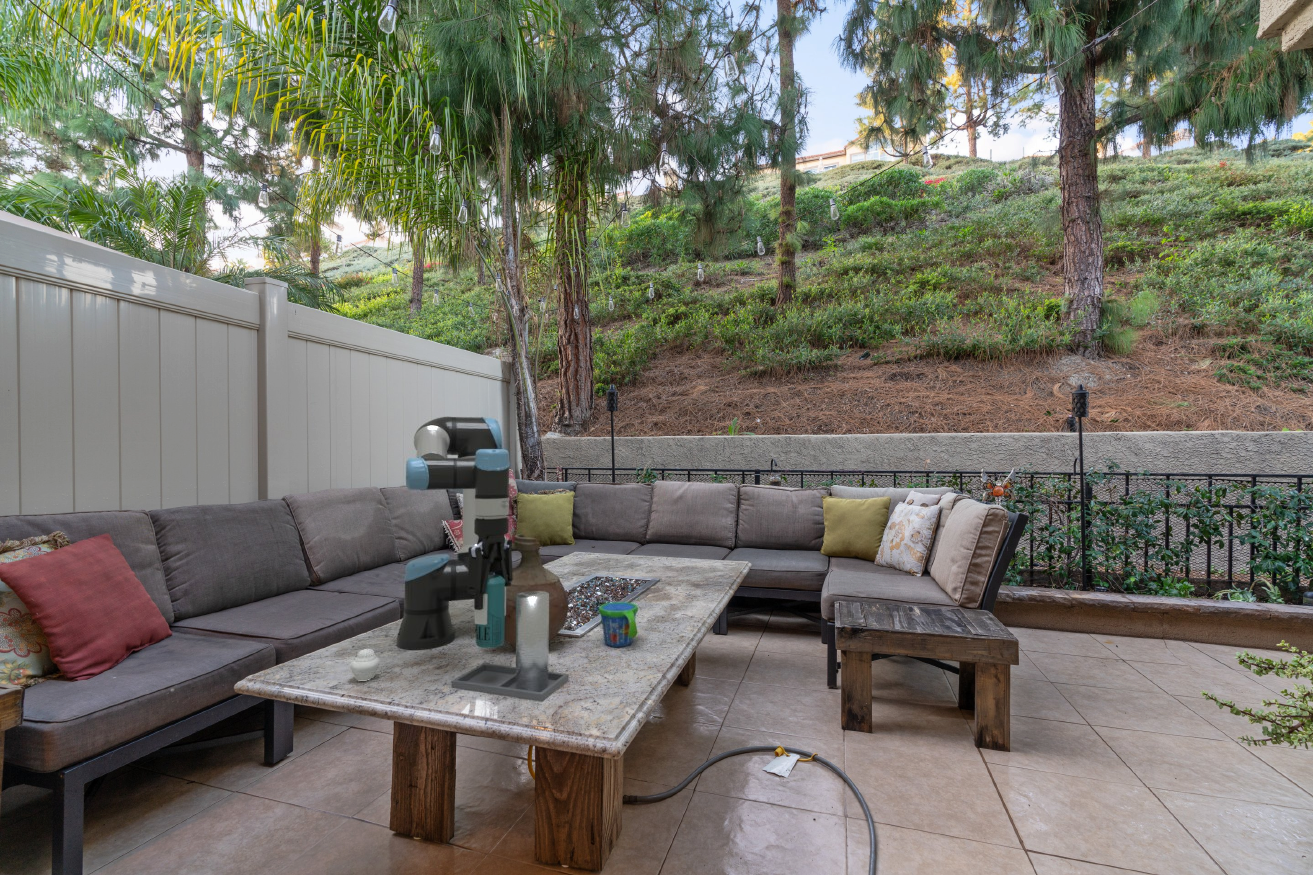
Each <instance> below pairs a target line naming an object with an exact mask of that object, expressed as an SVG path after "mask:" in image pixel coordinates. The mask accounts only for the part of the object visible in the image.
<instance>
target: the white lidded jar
mask: <svg viewBox="0 0 1313 875" xmlns="http://www.w3.org/2000/svg"><path fill="white" fill-rule="evenodd" d="M380 664H381V659H380V658H379V657H378V656H377V655H376V654H375V651H374V650H373V649H372V648H365V649H361V650H359V651H358V652H357V654H356V657H355V659H353V660H352V662H351V663H350V665H349V667H350V669H351V673H352V674H353V676H354V678H355V679H356V681H357V680H368V679H371V678H373V679H374V677H375V675H376V673H377V671H378V670H379V667H380Z"/></svg>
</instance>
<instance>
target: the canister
mask: <svg viewBox="0 0 1313 875" xmlns="http://www.w3.org/2000/svg"><path fill="white" fill-rule="evenodd" d="M549 641H550V640H549V593H548V592H544V591H528V592H522V593H519V594H517V595H516V648H515V667H516V689H520V690H527V691H534V692H542V691H543V690H545V689H546V688H547V687H548V675H549V672H550V670H549V664H550V663H549V661H550V659H549V654H550V650H549V648H550V642H549Z"/></svg>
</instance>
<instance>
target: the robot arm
mask: <svg viewBox="0 0 1313 875" xmlns="http://www.w3.org/2000/svg"><path fill="white" fill-rule="evenodd" d="M413 446H414V450H415V451H416V455H415V457H411V458H408V459H407V460H406V464H405V465H406V466H405V486H406V488H407V490H411V491H412V490H413V491H415V490H416V491H433V490H434V491H435V490H438V491H439V490H440V491H441V490H462V547H461V548H460V549H459V550H458V551H457V552H456V553H457V554H456V555H457V558H455V559H454V558H453V559H451V557H450V555H449V554H448V553H444V554H432V555H426V556H423V557H419V558H416V559H413V560H411V561H409V562H408V563H407V564H406V565H405V569H404V578H403V581H404V601H403V605H404V606H403V607H404V608H403V617H402V619H401V620H402V621H401V624H400V626H399V630H398V632H397V635H396V646H397V647H398V648H400V649H405V650H425V649H426V650H427V649H432V648H434V649H435V648H437V647H441V646H444V645H447V644H449V643H452V642H453V641H454V640H455V638H456V630H455V627H454V625H453V621H452V617H451V614H450V610H449V604H450V602H456V601H457V602H458V601H468V600H473V610H474V624H475V625H476V624H482V625H486V624H487V594H485V590H486V585H487V580H488V575H500V576H501V577H503V578H504V579H505V615H506V587H507V586H511V581H512V580H513V574H512V568H513V556H512V554H513V553H512V552H513V551H511V550H512V544H513V543H514V540H512V539H506V538H505V535H507V534H509V531H510V523H509V522H510V518H509V517H507V516H508V515H510V514H509V513H510V512H509V511H510V509H509V506H510V503H509V499H510V498H509V497H510V493H509V492H510V490H509V488H510V466H511V462H510V453H509V451H508V450H507V449H503V448H504V446H503V436H502V430H501V425H500V424H499V421H498V420H496V419H495V418H494V417H493V418H492V417H483V416H481V417H477V416H475V417H471V416H470V417H467V416H442V417H437V418H433V419H432V420H429V421H427V422H425V423H424V424H422V425H421V426H420V427H419V428H418V429H416V432H415V434H414V437H413ZM448 456H457V457H448ZM493 561H500V567H501V570H500V571H496V572H489V570H490V565H491V564H492V563H493ZM507 575H508V576H507ZM480 588H481V589H480Z"/></svg>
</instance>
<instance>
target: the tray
mask: <svg viewBox="0 0 1313 875" xmlns="http://www.w3.org/2000/svg"><path fill="white" fill-rule="evenodd" d="M568 682H569V673H562V672H555V671H554V672H553V671H549V675H548V687H547V688H546V689H545V690H543V691H542V692H534V691H527V690H520V689H516V666H509V665H503V664H495V663H486V662H483V663H481V664H479V665H477V666H476V667H474V668H472V669H470V670H469V671H467V672H465V673H463V674H461V675H460V676H458V677H456V678H455V679H452V680H451V683H450V684H451V685H450V686H451V687H450V688H451V689H457V690H463V691H469V692H476V693H482V694H483V693H484V694H489V695H497V696H504V697H508V698H509V697H510V698H516V699H523V700H530V701H535V702H544V701H545V700H546V699H548V697H550V696H551V695H552V694H554V693H555V692H557V690H558V689H560V688H561V687H562V686H564V685H565V684H566V683H568Z"/></svg>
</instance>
